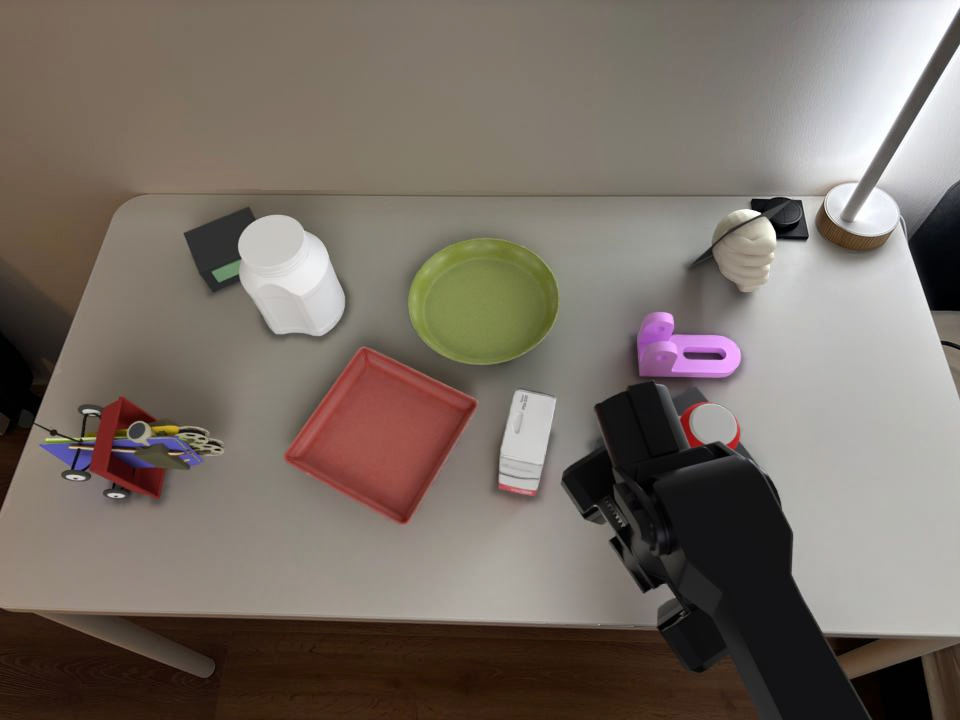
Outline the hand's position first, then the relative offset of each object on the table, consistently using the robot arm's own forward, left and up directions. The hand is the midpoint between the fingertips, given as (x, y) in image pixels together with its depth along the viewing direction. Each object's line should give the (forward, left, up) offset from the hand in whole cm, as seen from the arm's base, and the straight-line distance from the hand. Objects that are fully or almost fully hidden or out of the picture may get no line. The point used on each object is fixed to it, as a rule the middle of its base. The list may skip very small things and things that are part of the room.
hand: (634, 561), depth 62 cm
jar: (+53, +18, -13) cm, 57 cm away
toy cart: (+40, +43, -13) cm, 60 cm away
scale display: (+66, +24, -13) cm, 71 cm away
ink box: (+17, +2, -13) cm, 22 cm away
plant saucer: (+29, +16, -13) cm, 35 cm away
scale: (+7, -14, -13) cm, 21 cm away
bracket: (+19, -24, -13) cm, 34 cm away
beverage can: (+7, -14, -10) cm, 19 cm away
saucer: (+40, -4, -13) cm, 42 cm away
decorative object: (+28, -38, -13) cm, 49 cm away
